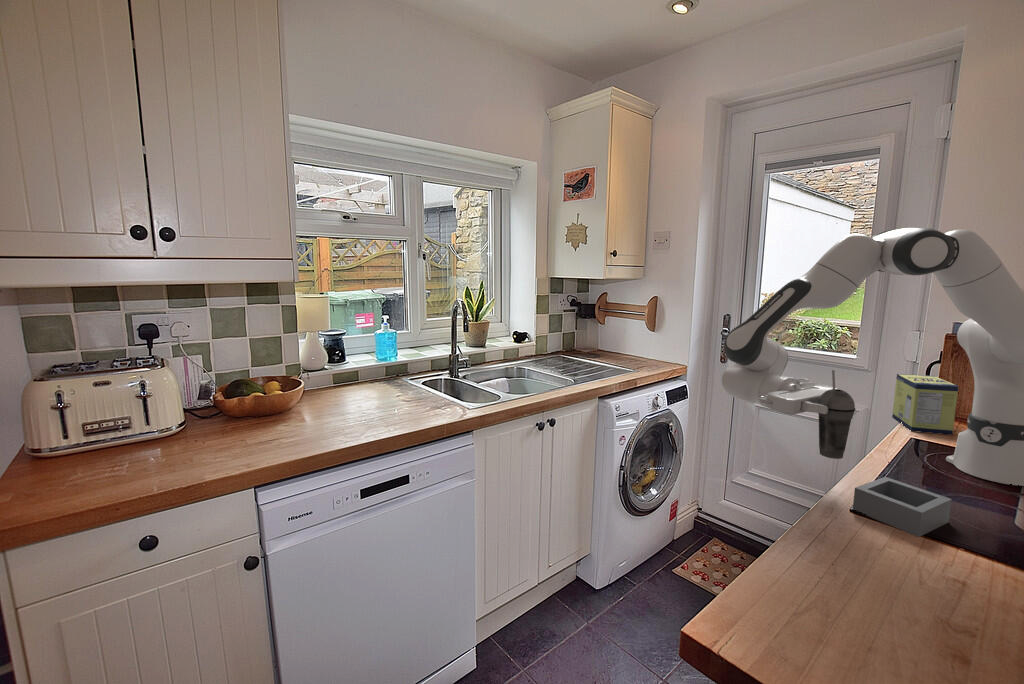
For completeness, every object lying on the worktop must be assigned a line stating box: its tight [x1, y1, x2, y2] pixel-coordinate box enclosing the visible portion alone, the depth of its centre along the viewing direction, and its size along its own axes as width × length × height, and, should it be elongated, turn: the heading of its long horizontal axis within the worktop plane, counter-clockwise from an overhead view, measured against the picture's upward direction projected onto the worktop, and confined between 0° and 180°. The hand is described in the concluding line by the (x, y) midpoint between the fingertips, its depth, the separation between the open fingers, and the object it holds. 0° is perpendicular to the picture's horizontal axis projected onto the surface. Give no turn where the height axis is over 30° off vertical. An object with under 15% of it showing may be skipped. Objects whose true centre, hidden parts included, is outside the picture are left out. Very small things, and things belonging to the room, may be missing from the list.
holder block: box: [852, 476, 953, 538], centre depth 95 cm, size 12×12×5 cm
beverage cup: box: [817, 369, 856, 460], centre depth 105 cm, size 7×7×20 cm
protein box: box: [891, 373, 959, 435], centre depth 148 cm, size 10×16×16 cm
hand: (839, 407), depth 104 cm, fingers closed on beverage cup, 7 cm apart
